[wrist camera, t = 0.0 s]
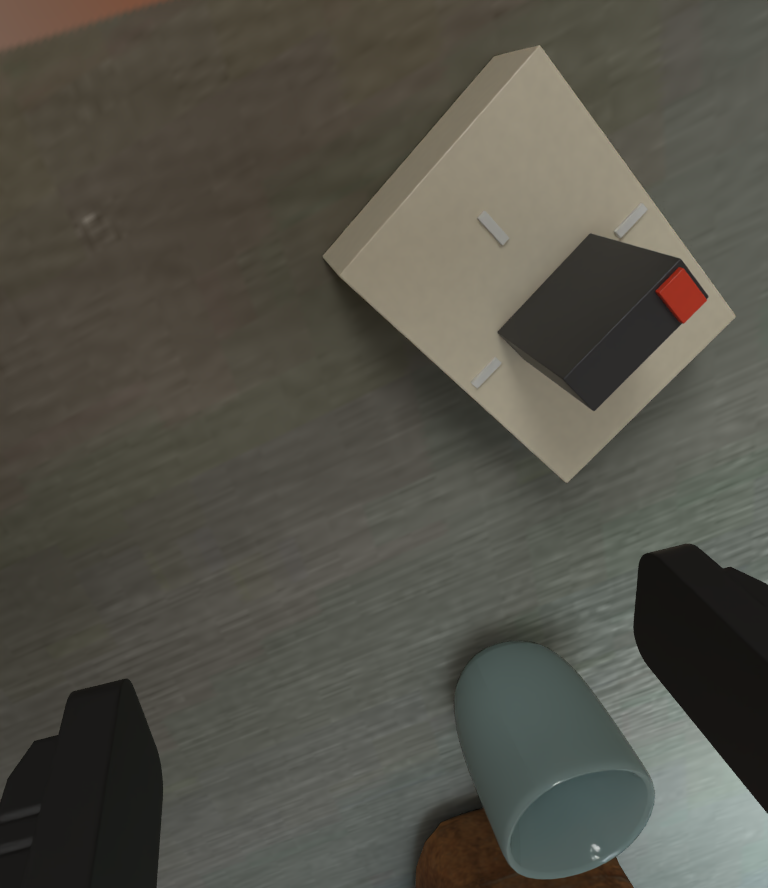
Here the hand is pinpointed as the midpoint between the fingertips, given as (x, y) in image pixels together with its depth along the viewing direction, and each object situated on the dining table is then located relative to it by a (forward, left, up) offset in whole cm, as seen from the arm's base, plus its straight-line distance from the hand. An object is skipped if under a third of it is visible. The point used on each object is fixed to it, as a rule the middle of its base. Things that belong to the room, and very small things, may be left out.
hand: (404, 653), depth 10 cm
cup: (+23, -8, -20) cm, 32 cm away
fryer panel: (+6, +8, -20) cm, 22 cm away
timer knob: (+7, +8, -16) cm, 19 cm away
